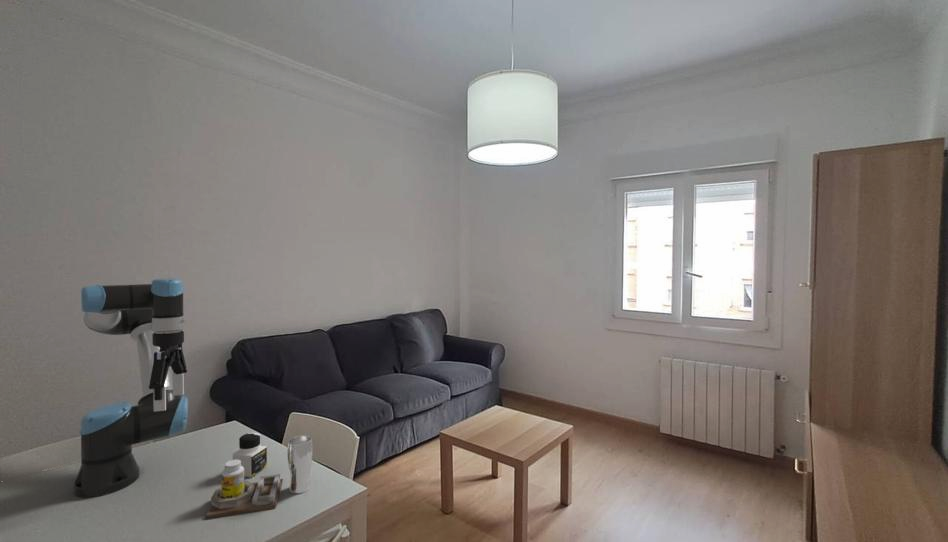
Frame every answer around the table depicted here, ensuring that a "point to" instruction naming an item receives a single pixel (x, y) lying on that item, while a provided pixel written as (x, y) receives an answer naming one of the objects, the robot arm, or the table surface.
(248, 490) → the socket board
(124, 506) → the table surface
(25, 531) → the table surface
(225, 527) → the table surface
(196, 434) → the table surface
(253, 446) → the medicine bottle
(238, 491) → the supplement bottle
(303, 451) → the beer glass
